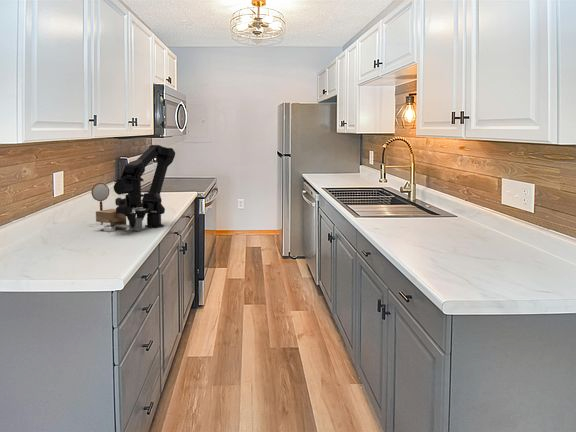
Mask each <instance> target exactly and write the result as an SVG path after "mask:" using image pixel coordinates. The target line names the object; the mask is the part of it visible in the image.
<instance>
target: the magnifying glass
mask: <svg viewBox="0 0 576 432" xmlns="http://www.w3.org/2000/svg"><path fill="white" fill-rule="evenodd" d="M91 196H92V198H93V199H94V200H95V201H98V202H99V211H102V210H103V202H104V201H105V200H107V199H108V197H109V196H110V188H109V187H108V185H107V184H105V183H103V182H98V183H96V184H95V185H93V186H92V188H91ZM100 224H101V225H104V222H100Z"/></svg>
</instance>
